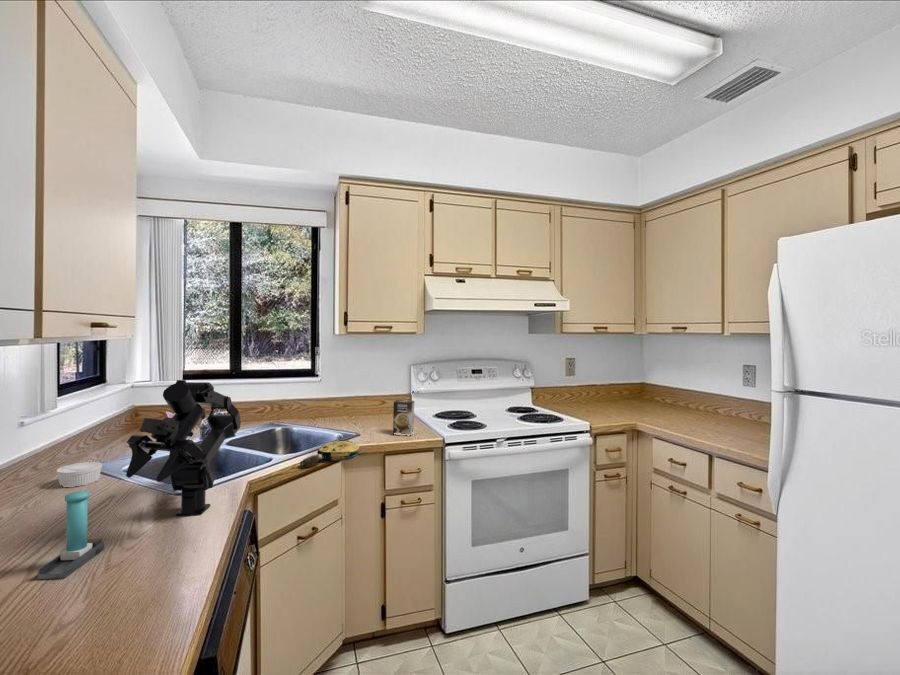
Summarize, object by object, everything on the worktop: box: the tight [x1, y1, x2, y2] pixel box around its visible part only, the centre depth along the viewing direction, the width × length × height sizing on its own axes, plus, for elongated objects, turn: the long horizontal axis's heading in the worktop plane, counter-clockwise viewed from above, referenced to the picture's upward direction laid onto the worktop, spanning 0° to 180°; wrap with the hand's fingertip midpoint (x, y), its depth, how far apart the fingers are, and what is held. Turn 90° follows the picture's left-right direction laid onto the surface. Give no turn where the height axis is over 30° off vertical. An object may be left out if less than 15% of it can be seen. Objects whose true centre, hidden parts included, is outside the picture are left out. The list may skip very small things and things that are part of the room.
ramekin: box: [55, 461, 103, 487], centre depth 145 cm, size 11×11×5 cm
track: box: [37, 538, 105, 580], centre depth 95 cm, size 12×5×3 cm, turn 6°
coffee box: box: [392, 399, 415, 434], centre depth 221 cm, size 9×6×16 cm
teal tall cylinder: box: [59, 490, 92, 560], centre depth 96 cm, size 4×4×13 cm
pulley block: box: [299, 439, 368, 467], centre depth 177 cm, size 14×6×30 cm
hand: (142, 479), depth 108 cm, fingers open, 9 cm apart
